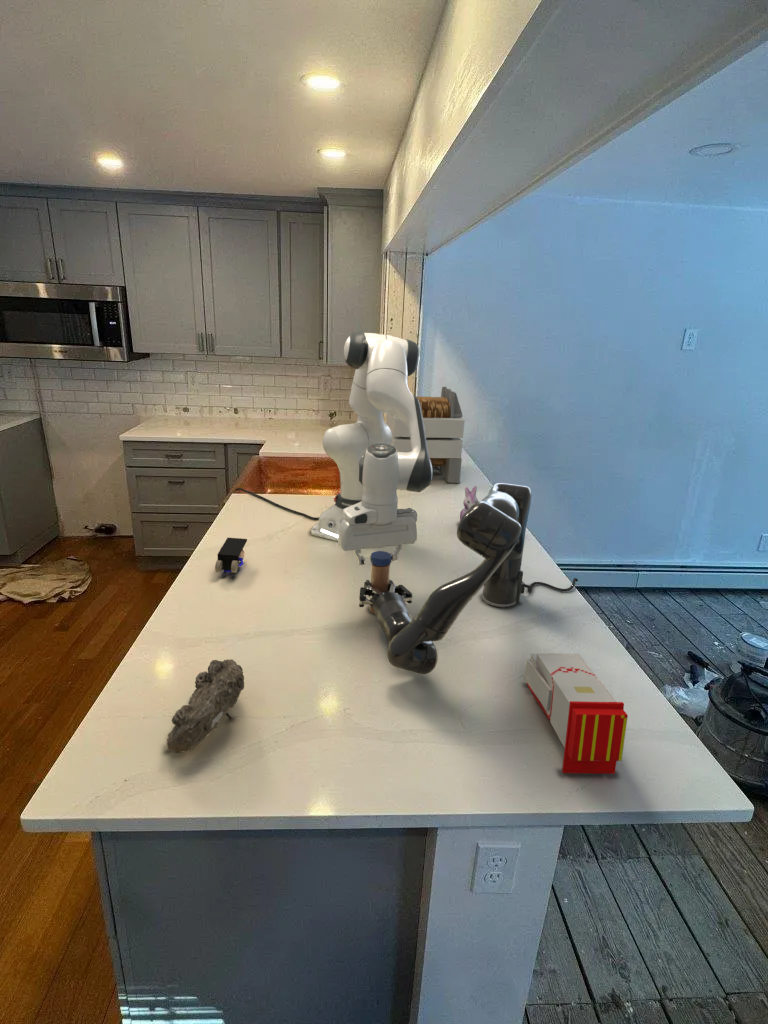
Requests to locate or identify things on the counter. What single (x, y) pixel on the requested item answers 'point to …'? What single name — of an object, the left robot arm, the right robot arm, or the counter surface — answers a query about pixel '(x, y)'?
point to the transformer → (436, 433)
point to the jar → (380, 578)
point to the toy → (578, 711)
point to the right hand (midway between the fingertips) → (377, 582)
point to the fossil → (206, 705)
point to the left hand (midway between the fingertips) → (377, 562)
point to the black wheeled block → (230, 556)
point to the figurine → (469, 500)
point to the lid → (380, 558)
